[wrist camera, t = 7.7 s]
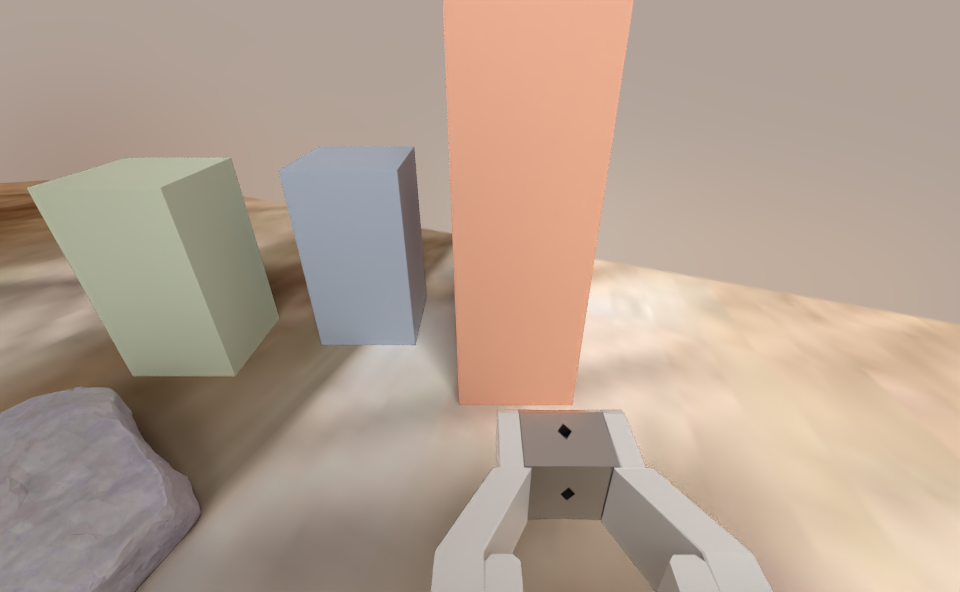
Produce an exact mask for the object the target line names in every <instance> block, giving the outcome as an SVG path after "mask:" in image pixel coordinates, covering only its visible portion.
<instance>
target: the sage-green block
mask: <svg viewBox="0 0 960 592" xmlns="http://www.w3.org/2000/svg"><path fill="white" fill-rule="evenodd" d="M27 190H28V192H29V194H30V195H31V197H32V199H33V201H34V202H35V204H36V206H37V208H38V209H39V211H40V213H41V215H42V217H43V218H44V220H45V222H46V224H47V225H48V227H49V229H50V231H51V232H52V234H53V236H54V238H55V240H56V241H57V243H58V245H59V247H60V248H61V250H62V252H63V254H64V255H65V257H66V259H67V261H68V263H69V264H70V266H71V268H72V270H73V271H74V273H75V275H76V277H77V278H78V280H79V282H80V284H81V286H82V287H83V289H84V291H85V293H86V294H87V296H88V298H89V300H90V301H91V303H92V305H93V307H94V309H95V310H96V312H97V314H98V316H99V317H100V319H101V321H102V323H103V324H104V326H105V328H106V330H107V332H108V333H109V335H110V337H111V339H112V340H113V342H114V344H115V346H116V347H117V349H118V351H119V353H120V355H121V356H122V358H123V360H124V362H125V363H126V365H127V367H128V369H129V370H130V372H131V374H132V376H236V375H237V374H238V372H239V371H240V370H241V368H242V367H243V366H244V364H245V363H246V362H247V361H248V359H249V358H250V357H251V355H252V354H253V353H254V351H255V350H256V349H257V347H258V346H259V345H260V344H261V342H262V341H263V340H264V338H265V337H266V336H267V334H268V333H269V332H270V330H271V329H272V328H273V326H274V325H275V324H276V323H277V321H278V320H279V316H278V312H277V309H276V306H275V302H274V299H273V296H272V292H271V289H270V286H269V282H268V279H267V276H266V272H265V269H264V266H263V262H262V259H261V256H260V252H259V249H258V246H257V242H256V239H255V236H254V232H253V229H252V226H251V222H250V219H249V216H248V212H247V209H246V206H245V202H244V199H243V196H242V192H241V189H240V186H239V183H238V179H237V176H236V172H235V169H234V166H233V162H232V159H231V158H124V159H121V160H117V161H114V162H110V163H107V164H104V165H100V166H97V167H94V168H90V169H87V170H84V171H80V172H77V173H74V174H71V175H67V176H64V177H61V178H57V179H54V180H51V181H47V182H44V183H41V184H37V185H34V186H31V187H27Z"/></svg>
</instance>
